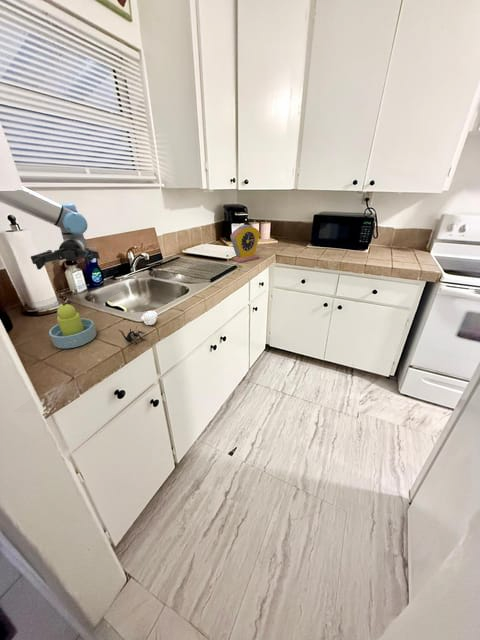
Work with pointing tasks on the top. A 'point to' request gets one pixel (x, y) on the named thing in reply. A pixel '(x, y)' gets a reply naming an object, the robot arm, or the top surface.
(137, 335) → the creature
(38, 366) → the top surface
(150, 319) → the dumpling
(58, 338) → the bowl
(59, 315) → the yellow-green bottle
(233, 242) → the yellow mantel clock
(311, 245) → the top surface
